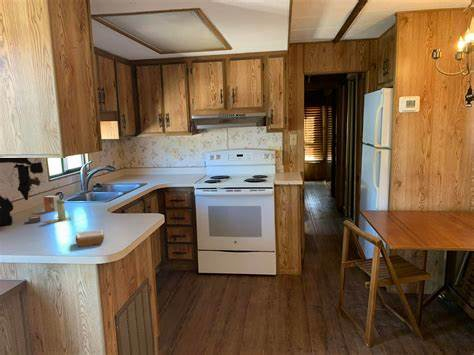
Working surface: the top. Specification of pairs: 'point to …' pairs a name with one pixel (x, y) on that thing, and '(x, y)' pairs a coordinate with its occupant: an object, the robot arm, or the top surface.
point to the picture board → (56, 220)
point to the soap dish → (89, 237)
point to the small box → (50, 203)
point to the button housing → (34, 219)
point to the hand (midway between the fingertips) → (26, 200)
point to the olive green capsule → (61, 209)
